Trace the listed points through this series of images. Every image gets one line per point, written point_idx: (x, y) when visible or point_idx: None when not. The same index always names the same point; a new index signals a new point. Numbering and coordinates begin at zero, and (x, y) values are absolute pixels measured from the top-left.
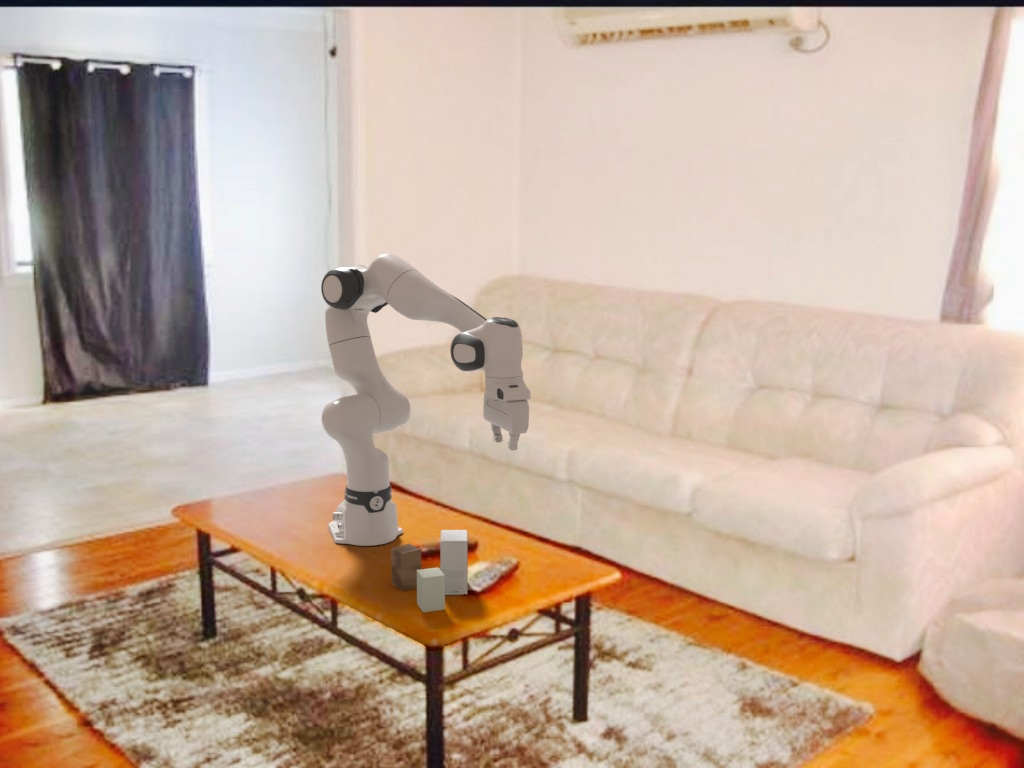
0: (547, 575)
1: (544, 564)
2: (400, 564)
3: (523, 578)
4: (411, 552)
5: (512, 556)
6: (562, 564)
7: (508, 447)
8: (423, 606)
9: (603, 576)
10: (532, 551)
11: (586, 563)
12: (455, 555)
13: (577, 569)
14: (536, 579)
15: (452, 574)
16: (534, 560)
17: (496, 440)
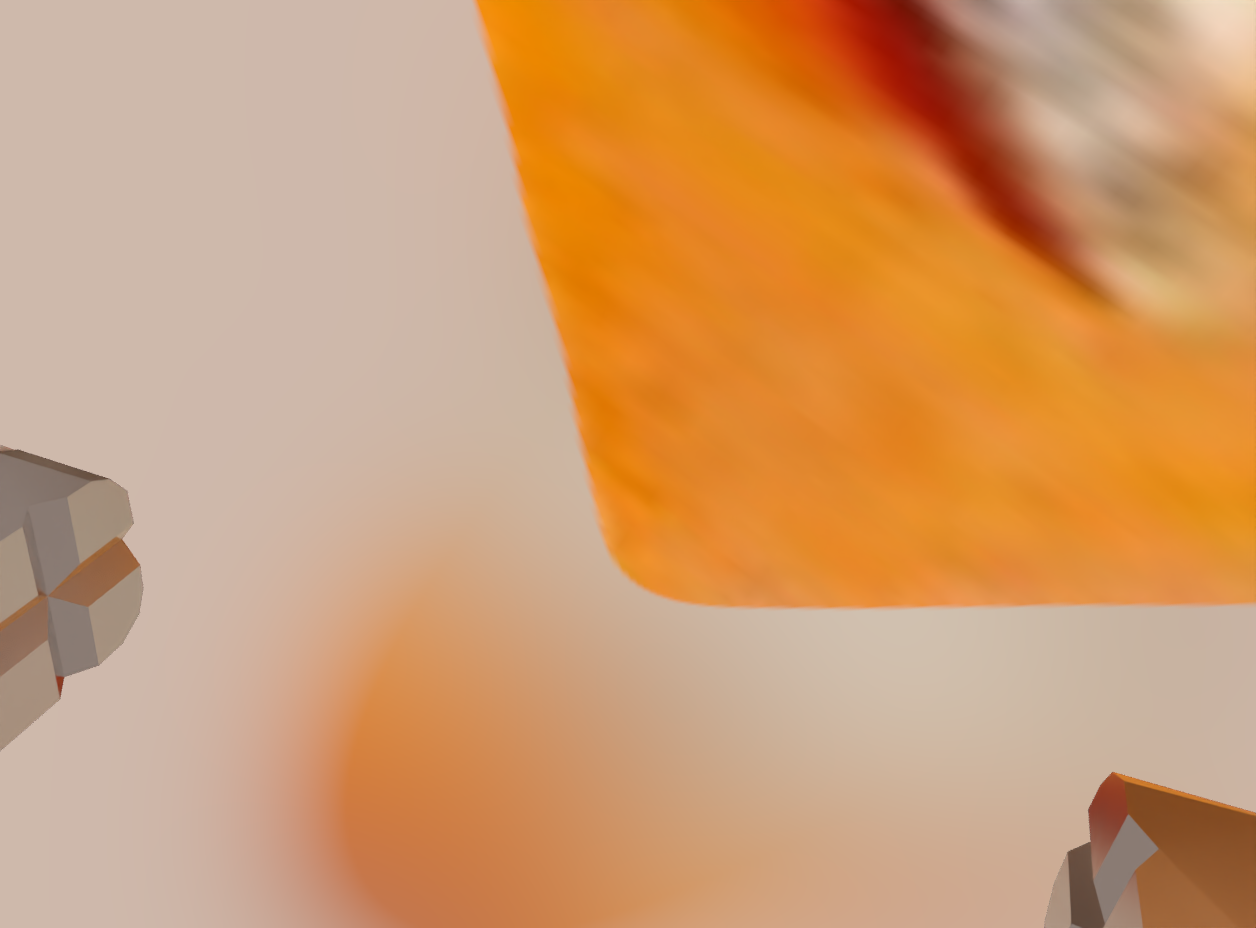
0: (772, 304)
1: (940, 401)
2: None
3: (810, 144)
4: None
5: (1221, 321)
6: (873, 483)
7: (46, 478)
8: None
9: (609, 529)
10: (1199, 487)
11: (808, 587)
12: None
13: (759, 495)
14: (751, 207)
15: None
16: (1043, 395)
17: (1115, 822)
